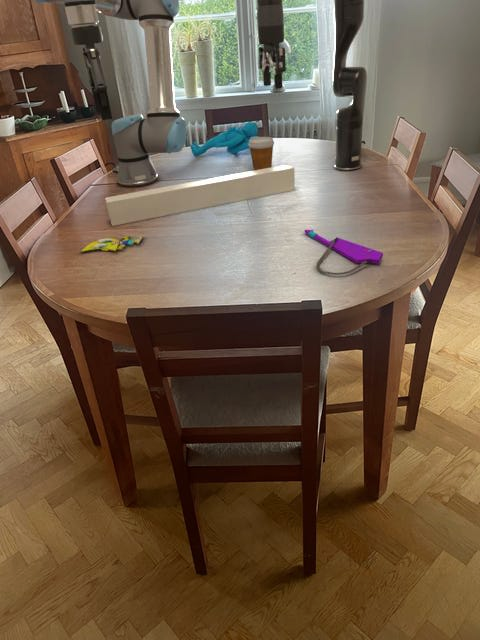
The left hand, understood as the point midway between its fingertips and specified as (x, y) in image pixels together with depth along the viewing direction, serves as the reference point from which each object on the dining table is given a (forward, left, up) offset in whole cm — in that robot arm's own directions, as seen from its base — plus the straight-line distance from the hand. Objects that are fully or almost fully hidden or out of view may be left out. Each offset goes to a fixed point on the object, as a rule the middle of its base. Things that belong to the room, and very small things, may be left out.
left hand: (104, 115), depth 133 cm
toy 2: (-52, +58, -31) cm, 83 cm away
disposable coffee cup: (-16, +57, -31) cm, 66 cm away
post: (+3, +26, -31) cm, 40 cm away
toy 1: (+17, -8, -31) cm, 36 cm away
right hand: (+5, +51, +1) cm, 51 cm away
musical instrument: (+57, +37, -31) cm, 74 cm away
